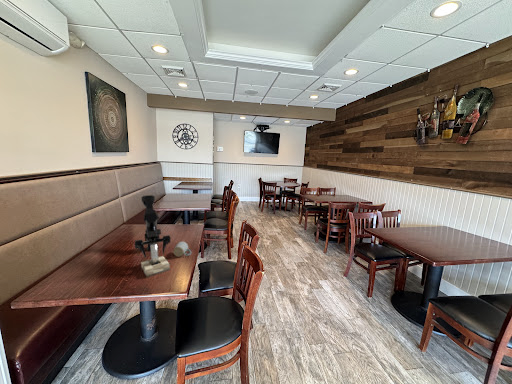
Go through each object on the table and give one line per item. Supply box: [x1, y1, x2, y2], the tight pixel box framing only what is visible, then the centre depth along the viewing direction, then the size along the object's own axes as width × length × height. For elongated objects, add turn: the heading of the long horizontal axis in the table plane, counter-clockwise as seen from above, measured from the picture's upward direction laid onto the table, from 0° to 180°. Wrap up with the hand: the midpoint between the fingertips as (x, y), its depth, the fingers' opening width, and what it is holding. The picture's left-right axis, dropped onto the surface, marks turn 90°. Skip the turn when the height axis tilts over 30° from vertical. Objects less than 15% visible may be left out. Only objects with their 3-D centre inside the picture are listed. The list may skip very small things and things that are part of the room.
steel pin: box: [150, 242, 159, 266], centre depth 119 cm, size 4×4×14 cm
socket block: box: [140, 255, 171, 278], centre depth 120 cm, size 12×12×4 cm
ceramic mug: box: [172, 241, 192, 257], centre depth 138 cm, size 11×8×8 cm
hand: (154, 255), depth 119 cm, fingers open, 9 cm apart
